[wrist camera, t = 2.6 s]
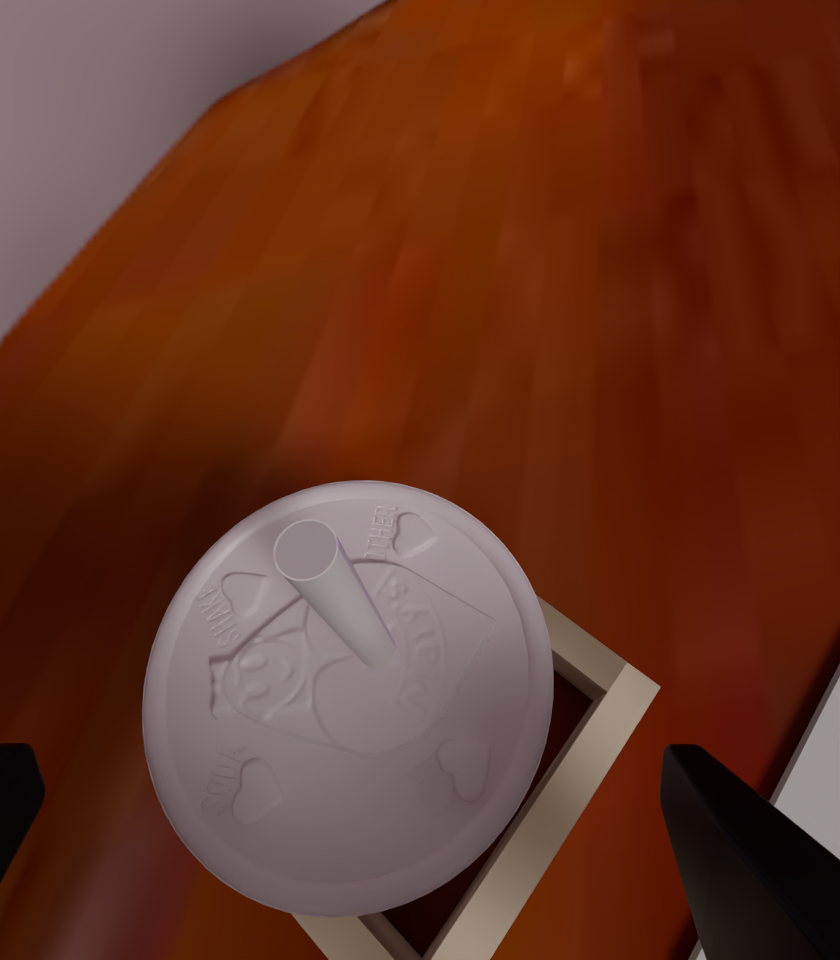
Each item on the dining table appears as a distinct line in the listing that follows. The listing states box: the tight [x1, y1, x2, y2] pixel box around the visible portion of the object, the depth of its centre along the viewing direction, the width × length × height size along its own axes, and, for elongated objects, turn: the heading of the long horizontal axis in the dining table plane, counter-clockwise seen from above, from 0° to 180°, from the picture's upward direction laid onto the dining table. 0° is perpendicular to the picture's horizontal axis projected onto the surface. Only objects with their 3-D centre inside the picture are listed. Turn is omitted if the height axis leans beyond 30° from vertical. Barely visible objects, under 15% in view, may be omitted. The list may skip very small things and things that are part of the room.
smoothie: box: [142, 481, 554, 918], centre depth 11 cm, size 6×6×14 cm
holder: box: [291, 594, 660, 960], centre depth 16 cm, size 10×10×2 cm
